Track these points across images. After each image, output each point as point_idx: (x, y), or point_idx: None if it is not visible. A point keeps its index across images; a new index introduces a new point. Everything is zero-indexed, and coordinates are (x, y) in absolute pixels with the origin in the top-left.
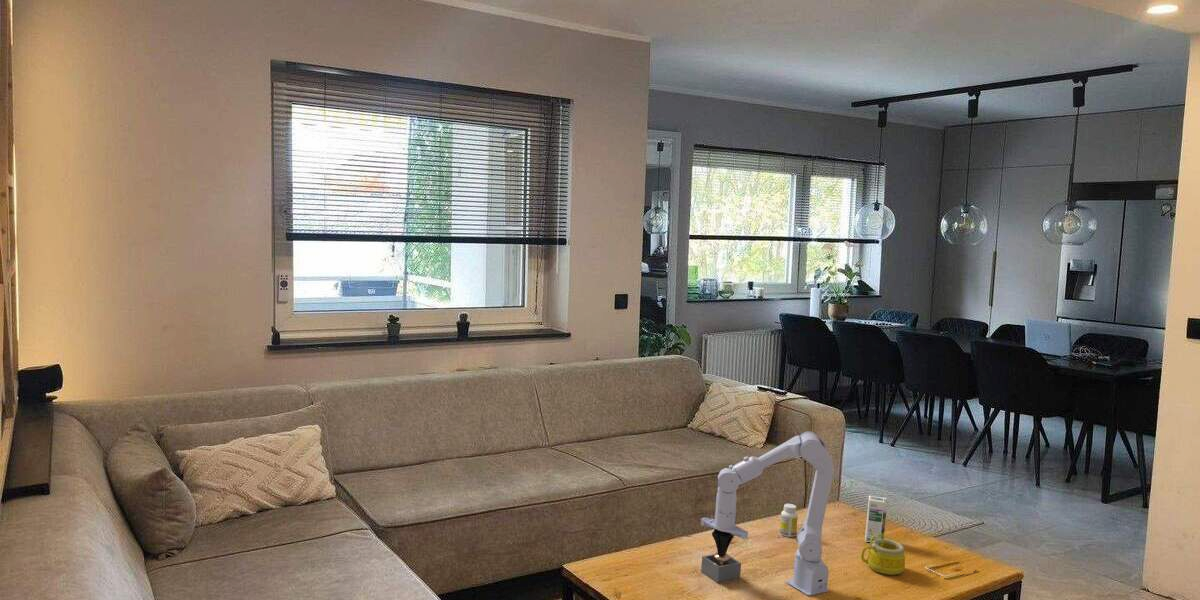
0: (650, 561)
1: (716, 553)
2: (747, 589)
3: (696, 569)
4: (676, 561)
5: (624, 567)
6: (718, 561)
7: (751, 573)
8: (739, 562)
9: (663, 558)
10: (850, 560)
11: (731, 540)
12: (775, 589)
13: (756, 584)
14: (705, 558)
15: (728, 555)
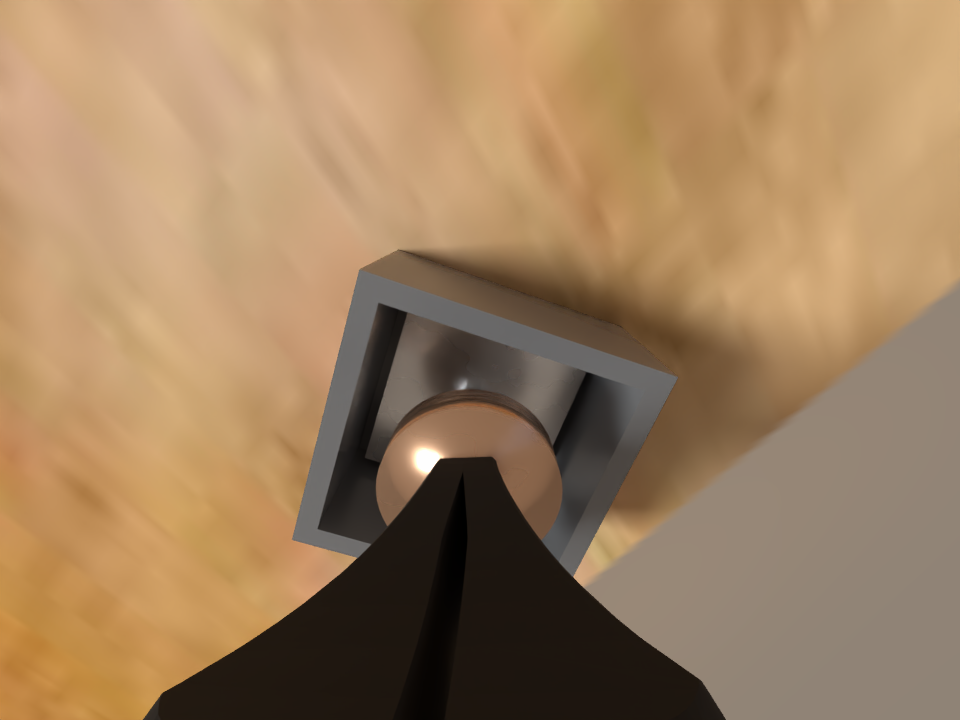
0: (24, 564)
1: (391, 496)
2: (747, 435)
3: (292, 440)
4: (103, 440)
5: (38, 709)
6: None
7: (651, 140)
8: (656, 380)
9: (15, 468)
10: None
11: (588, 597)
12: (948, 269)
13: (775, 311)
14: (346, 554)
15: (526, 439)
